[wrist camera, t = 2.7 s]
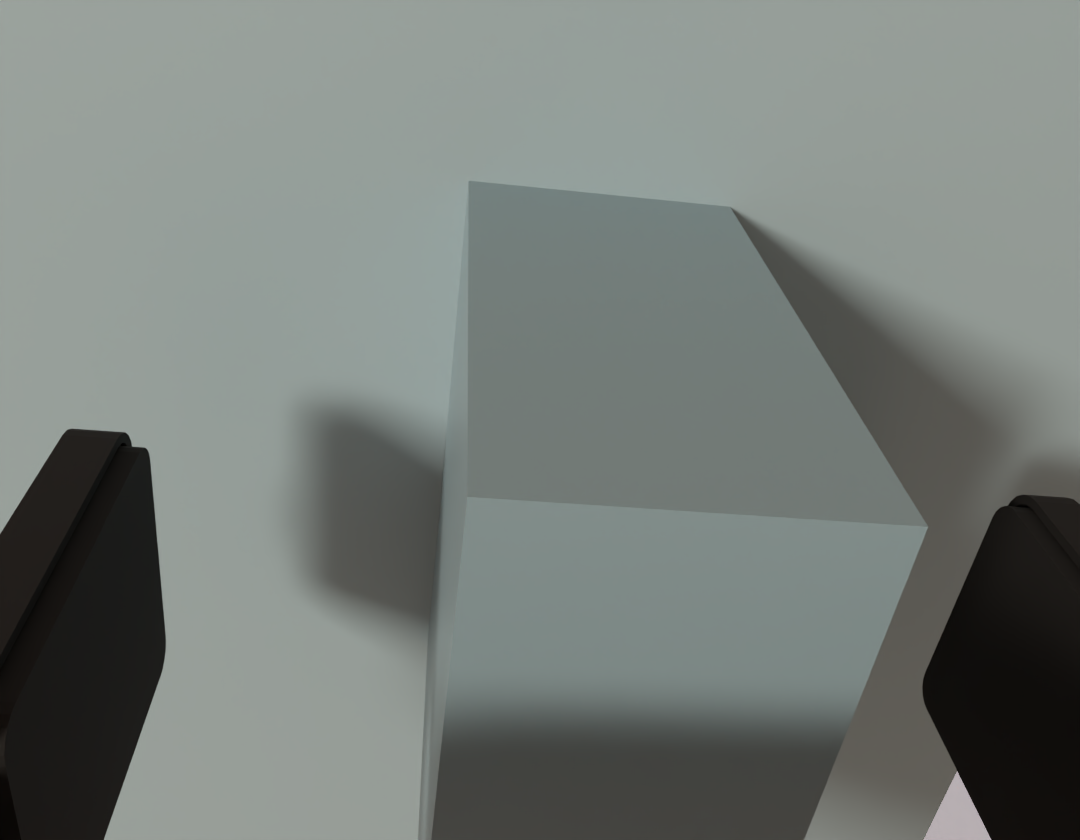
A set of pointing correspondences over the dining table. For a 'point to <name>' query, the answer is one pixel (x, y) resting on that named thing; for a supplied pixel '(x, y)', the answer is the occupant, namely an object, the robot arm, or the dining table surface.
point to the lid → (546, 390)
